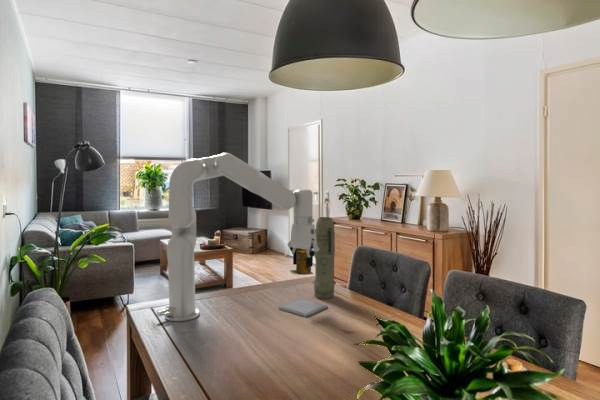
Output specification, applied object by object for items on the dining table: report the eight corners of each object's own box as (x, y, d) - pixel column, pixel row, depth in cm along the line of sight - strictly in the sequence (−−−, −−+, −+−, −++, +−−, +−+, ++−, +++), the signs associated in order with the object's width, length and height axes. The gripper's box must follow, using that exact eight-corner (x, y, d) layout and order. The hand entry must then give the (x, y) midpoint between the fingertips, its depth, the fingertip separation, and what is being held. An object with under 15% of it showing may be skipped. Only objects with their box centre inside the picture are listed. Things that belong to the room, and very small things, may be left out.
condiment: (314, 274, 151) (314, 244, 150) (293, 275, 149) (293, 245, 148) (309, 269, 158) (309, 241, 157) (289, 270, 156) (289, 241, 155)
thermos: (321, 290, 177) (322, 215, 175) (340, 297, 168) (341, 218, 166) (307, 294, 172) (308, 217, 169) (326, 301, 163) (327, 219, 160)
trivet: (305, 317, 144) (305, 315, 144) (278, 309, 153) (278, 306, 153) (327, 307, 155) (327, 305, 155) (301, 300, 164) (301, 298, 164)
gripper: (326, 221, 149) (325, 267, 151) (292, 218, 160) (292, 260, 162) (314, 223, 143) (314, 270, 145) (280, 219, 154) (280, 263, 156)
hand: (302, 264), depth 153 cm, fingers closed on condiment, 6 cm apart
